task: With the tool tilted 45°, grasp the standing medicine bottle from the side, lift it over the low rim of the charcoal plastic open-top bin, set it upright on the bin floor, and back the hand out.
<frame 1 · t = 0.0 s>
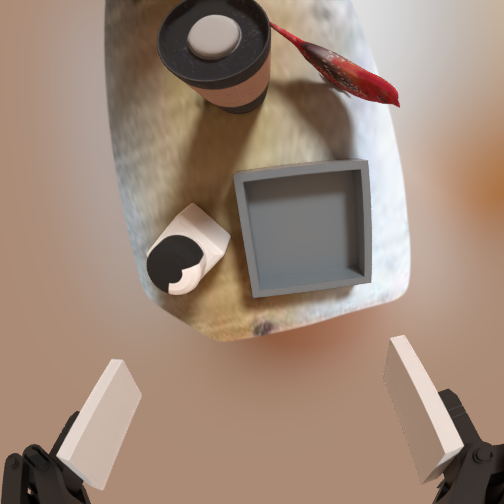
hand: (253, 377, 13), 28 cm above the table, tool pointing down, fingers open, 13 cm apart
travel mug: (239, 88, 33), on the table
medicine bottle: (196, 236, 40), on the table
decorative bird figurine: (322, 73, 31), on the table
open-top bin: (304, 222, 39), on the table
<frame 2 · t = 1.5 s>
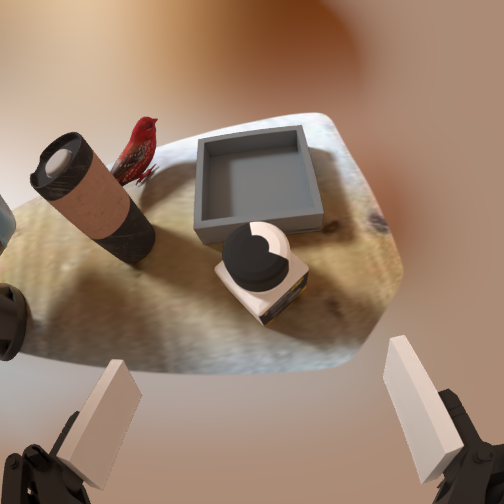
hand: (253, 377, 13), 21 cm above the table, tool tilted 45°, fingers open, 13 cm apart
travel mug: (135, 242, 41), on the table
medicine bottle: (266, 288, 36), on the table
decorative bird figurine: (138, 185, 46), on the table
open-top bin: (257, 189, 42), on the table
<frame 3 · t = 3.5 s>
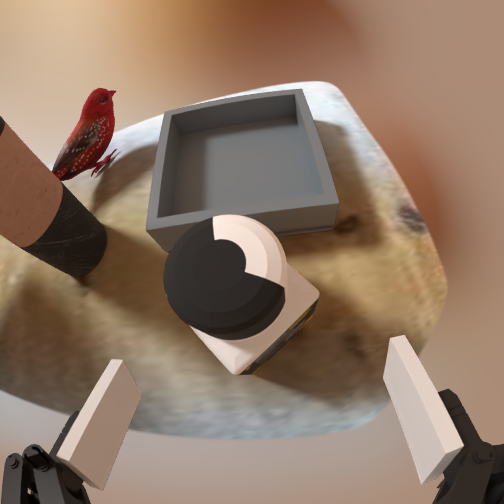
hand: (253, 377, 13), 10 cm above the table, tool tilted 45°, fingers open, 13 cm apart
travel mug: (84, 248, 29), on the table
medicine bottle: (253, 316, 24), on the table
decorative bird figurine: (95, 176, 34), on the table
open-top bin: (241, 173, 30), on the table
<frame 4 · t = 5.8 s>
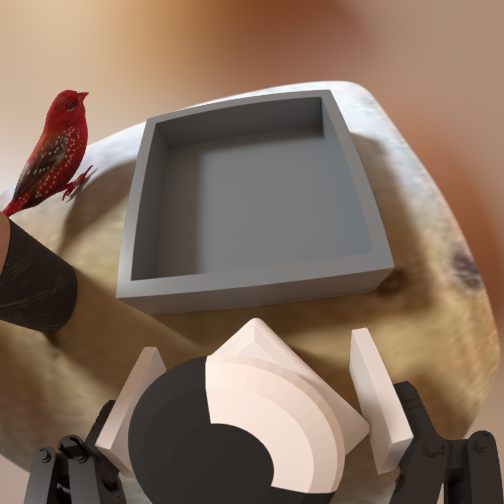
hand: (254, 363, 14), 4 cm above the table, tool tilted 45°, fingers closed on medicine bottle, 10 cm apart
travel mug: (53, 296, 22), on the table
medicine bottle: (266, 410, 16), on the table, touching gripper
decorative bird figurine: (67, 200, 27), on the table
open-top bin: (249, 204, 22), on the table
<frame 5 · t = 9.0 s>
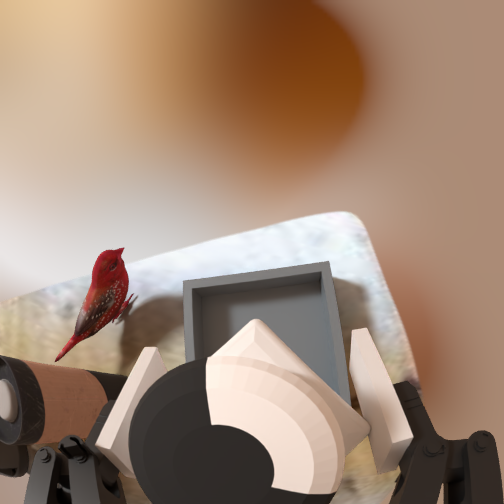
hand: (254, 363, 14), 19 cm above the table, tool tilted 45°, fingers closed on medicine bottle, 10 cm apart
travel mug: (124, 401, 31), on the table
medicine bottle: (266, 411, 16), point 14 cm above the table, touching gripper
decorative bird figurine: (116, 321, 36), on the table
open-top bin: (266, 350, 32), on the table
when the fingers open (7 cm above the table, at t = 12.4 s): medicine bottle drops 1 cm, resting on open-top bin.
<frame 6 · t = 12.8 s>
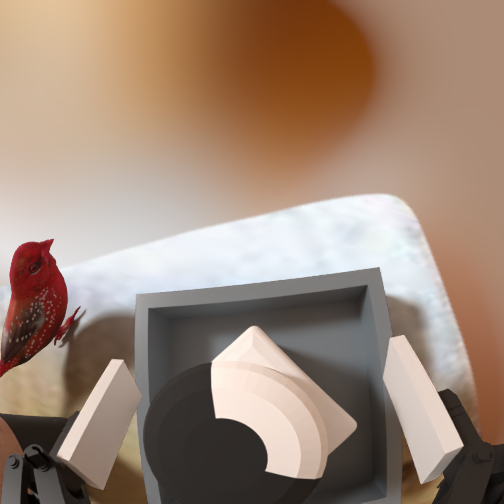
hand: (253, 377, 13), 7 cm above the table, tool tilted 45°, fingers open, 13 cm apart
travel mug: (71, 450, 18), on the table
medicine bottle: (264, 409, 18), point 1 cm above the table, touching open-top bin
decorative bird figurine: (59, 343, 23), on the table
open-top bin: (269, 406, 18), on the table
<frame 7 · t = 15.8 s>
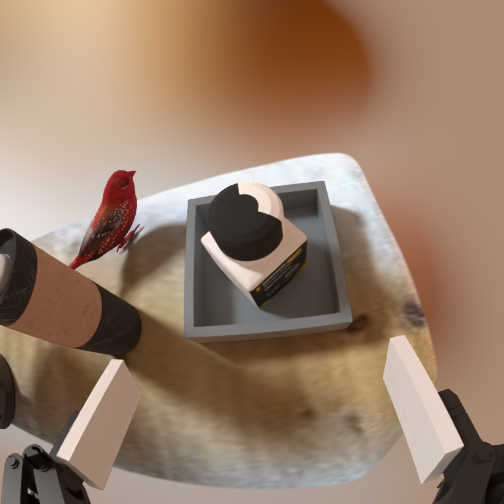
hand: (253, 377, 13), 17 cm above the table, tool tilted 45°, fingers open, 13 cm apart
travel mug: (119, 328, 33), on the table
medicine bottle: (262, 267, 33), point 1 cm above the table, touching open-top bin
decorative bird figurine: (120, 251, 38), on the table
open-top bin: (265, 268, 33), on the table
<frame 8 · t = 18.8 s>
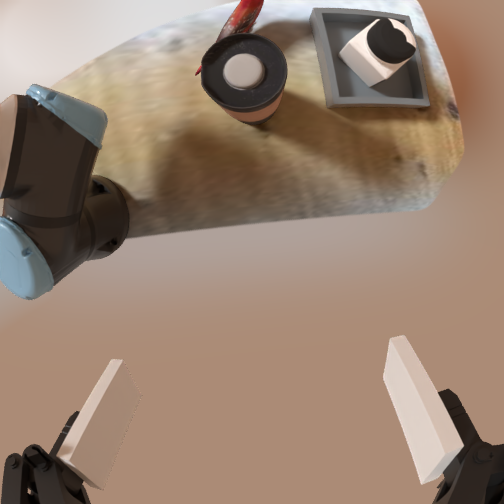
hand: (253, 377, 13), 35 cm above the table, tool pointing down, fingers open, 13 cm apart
travel mug: (253, 102, 39), on the table
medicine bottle: (366, 60, 35), point 1 cm above the table, touching open-top bin
decorative bird figurine: (236, 41, 36), on the table
open-top bin: (366, 61, 35), on the table
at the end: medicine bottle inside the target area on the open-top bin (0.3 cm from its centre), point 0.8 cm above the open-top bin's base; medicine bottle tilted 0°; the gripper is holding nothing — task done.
